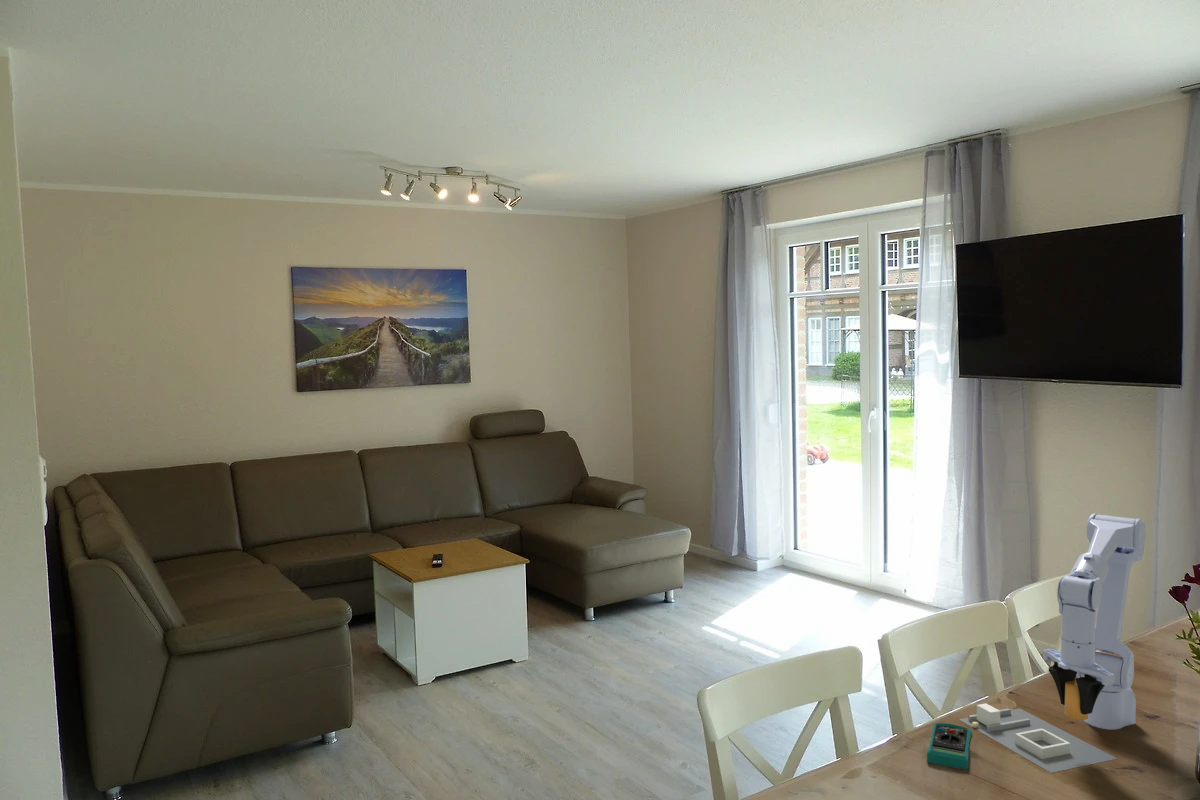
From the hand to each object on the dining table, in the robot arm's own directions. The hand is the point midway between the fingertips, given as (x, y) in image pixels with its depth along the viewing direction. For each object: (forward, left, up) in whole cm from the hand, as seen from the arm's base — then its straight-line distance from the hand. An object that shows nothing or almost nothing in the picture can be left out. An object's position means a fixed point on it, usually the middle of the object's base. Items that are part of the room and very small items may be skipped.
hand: (1076, 708), depth 166 cm
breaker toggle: (+7, -15, -8) cm, 19 cm away
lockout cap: (0, 0, -1) cm, 1 cm away
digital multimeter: (+21, -11, -10) cm, 25 cm away
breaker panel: (+3, -7, -10) cm, 12 cm away
